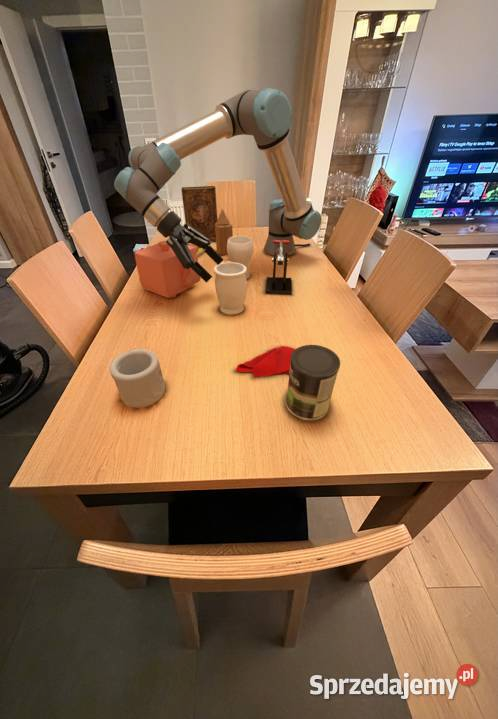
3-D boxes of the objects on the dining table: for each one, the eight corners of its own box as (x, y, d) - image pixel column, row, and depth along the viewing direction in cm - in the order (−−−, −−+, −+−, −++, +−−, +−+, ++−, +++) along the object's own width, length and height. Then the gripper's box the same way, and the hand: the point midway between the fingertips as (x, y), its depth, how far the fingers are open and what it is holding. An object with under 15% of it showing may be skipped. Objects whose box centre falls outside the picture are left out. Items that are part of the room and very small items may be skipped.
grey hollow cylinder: (167, 403, 72) (159, 372, 66) (120, 413, 70) (107, 382, 63) (163, 367, 82) (155, 338, 76) (122, 375, 80) (110, 345, 73)
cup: (254, 271, 130) (254, 235, 120) (252, 282, 122) (252, 244, 112) (230, 270, 131) (228, 234, 121) (226, 281, 123) (224, 243, 113)
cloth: (329, 350, 88) (330, 344, 86) (334, 383, 77) (335, 376, 76) (240, 344, 90) (240, 338, 88) (234, 376, 79) (234, 369, 78)
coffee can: (290, 422, 68) (296, 377, 58) (282, 389, 75) (286, 345, 66) (334, 419, 68) (347, 374, 59) (322, 387, 76) (332, 343, 67)
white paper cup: (250, 304, 108) (251, 264, 98) (241, 319, 101) (240, 277, 91) (223, 299, 111) (221, 260, 101) (212, 313, 103) (208, 272, 94)
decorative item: (216, 251, 148) (213, 207, 135) (228, 249, 150) (226, 205, 137) (221, 255, 143) (218, 210, 130) (233, 253, 146) (232, 208, 133)
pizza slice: (210, 247, 152) (209, 241, 150) (205, 263, 136) (204, 257, 134) (179, 247, 152) (178, 241, 150) (171, 263, 136) (170, 257, 134)
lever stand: (266, 280, 123) (267, 248, 115) (291, 280, 123) (294, 249, 114) (265, 293, 114) (266, 261, 106) (291, 294, 113) (294, 262, 105)
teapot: (181, 267, 133) (174, 225, 121) (220, 280, 123) (217, 236, 111) (135, 289, 117) (123, 243, 106) (176, 305, 107) (167, 257, 96)
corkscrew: (273, 242, 117) (273, 238, 114) (289, 243, 116) (289, 238, 114) (272, 264, 112) (272, 260, 110) (288, 265, 112) (288, 260, 109)
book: (218, 237, 163) (214, 185, 147) (219, 241, 159) (216, 188, 143) (187, 240, 161) (180, 187, 144) (188, 243, 156) (181, 189, 140)
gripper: (172, 216, 102) (218, 262, 109) (138, 241, 83) (196, 295, 90) (185, 200, 97) (232, 249, 105) (152, 222, 79) (211, 280, 86)
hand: (215, 270), depth 98 cm, fingers open, 13 cm apart
